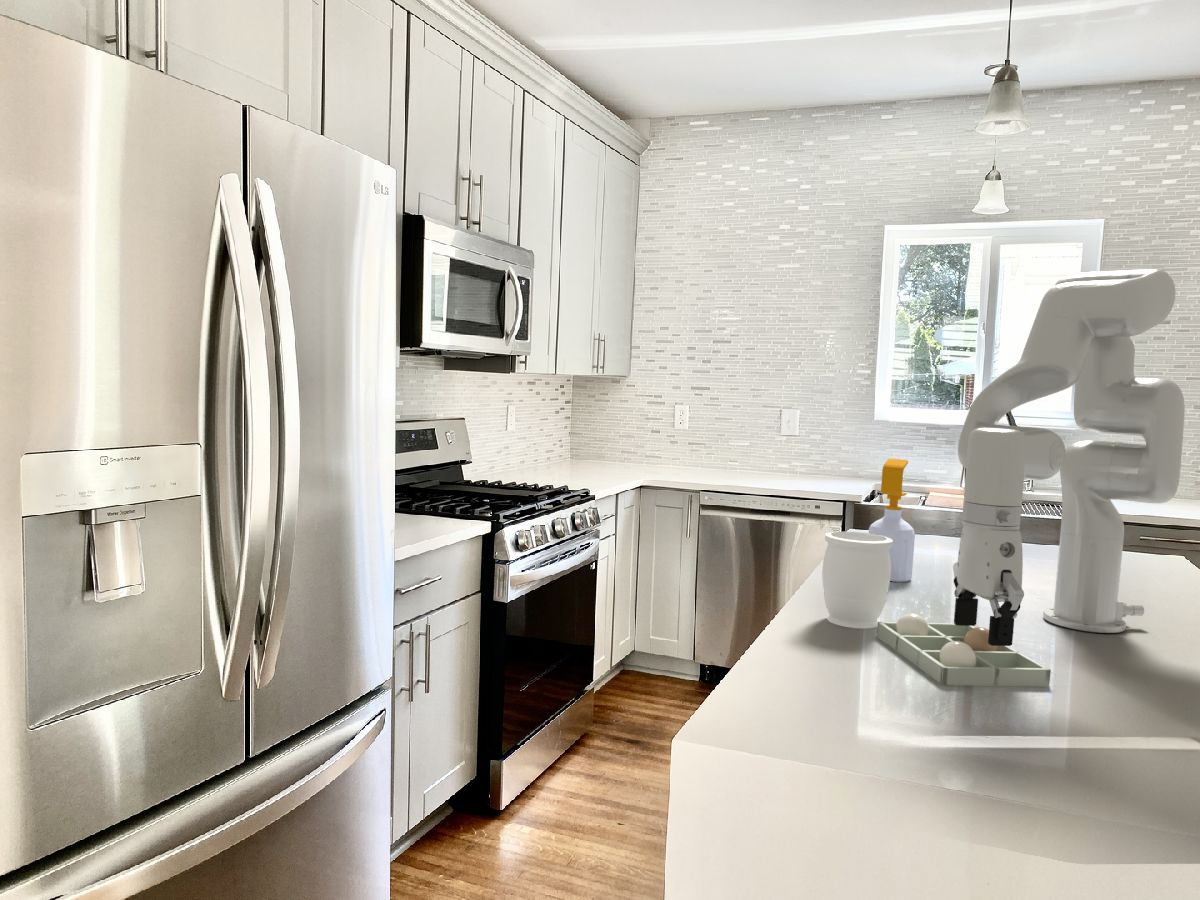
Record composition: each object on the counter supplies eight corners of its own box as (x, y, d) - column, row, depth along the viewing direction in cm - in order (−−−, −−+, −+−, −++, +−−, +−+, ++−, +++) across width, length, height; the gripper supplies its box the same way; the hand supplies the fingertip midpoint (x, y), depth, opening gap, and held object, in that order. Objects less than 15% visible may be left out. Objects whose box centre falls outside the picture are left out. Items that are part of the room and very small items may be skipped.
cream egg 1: (919, 639, 136) (921, 609, 136) (933, 648, 131) (935, 618, 131) (890, 639, 136) (892, 609, 135) (902, 648, 131) (905, 617, 131)
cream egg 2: (964, 669, 122) (966, 636, 122) (981, 681, 117) (984, 647, 117) (931, 669, 122) (934, 636, 121) (947, 680, 117) (950, 646, 117)
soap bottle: (915, 577, 186) (924, 460, 184) (905, 584, 178) (914, 462, 176) (872, 570, 191) (880, 456, 189) (860, 577, 183) (868, 459, 181)
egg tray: (967, 643, 138) (968, 623, 138) (1048, 693, 117) (1050, 669, 117) (876, 642, 137) (877, 621, 137) (941, 692, 116) (943, 668, 115)
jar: (887, 623, 148) (893, 534, 147) (885, 640, 138) (892, 544, 137) (821, 615, 152) (827, 528, 150) (815, 631, 142) (822, 538, 141)
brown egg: (986, 654, 130) (989, 623, 129) (1003, 664, 125) (1006, 632, 125) (956, 654, 129) (958, 623, 129) (972, 664, 125) (974, 632, 124)
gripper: (1052, 527, 117) (1041, 654, 119) (985, 507, 134) (976, 618, 136) (998, 525, 116) (987, 653, 118) (937, 506, 134) (928, 617, 135)
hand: (981, 634), depth 127 cm, fingers open, 9 cm apart
